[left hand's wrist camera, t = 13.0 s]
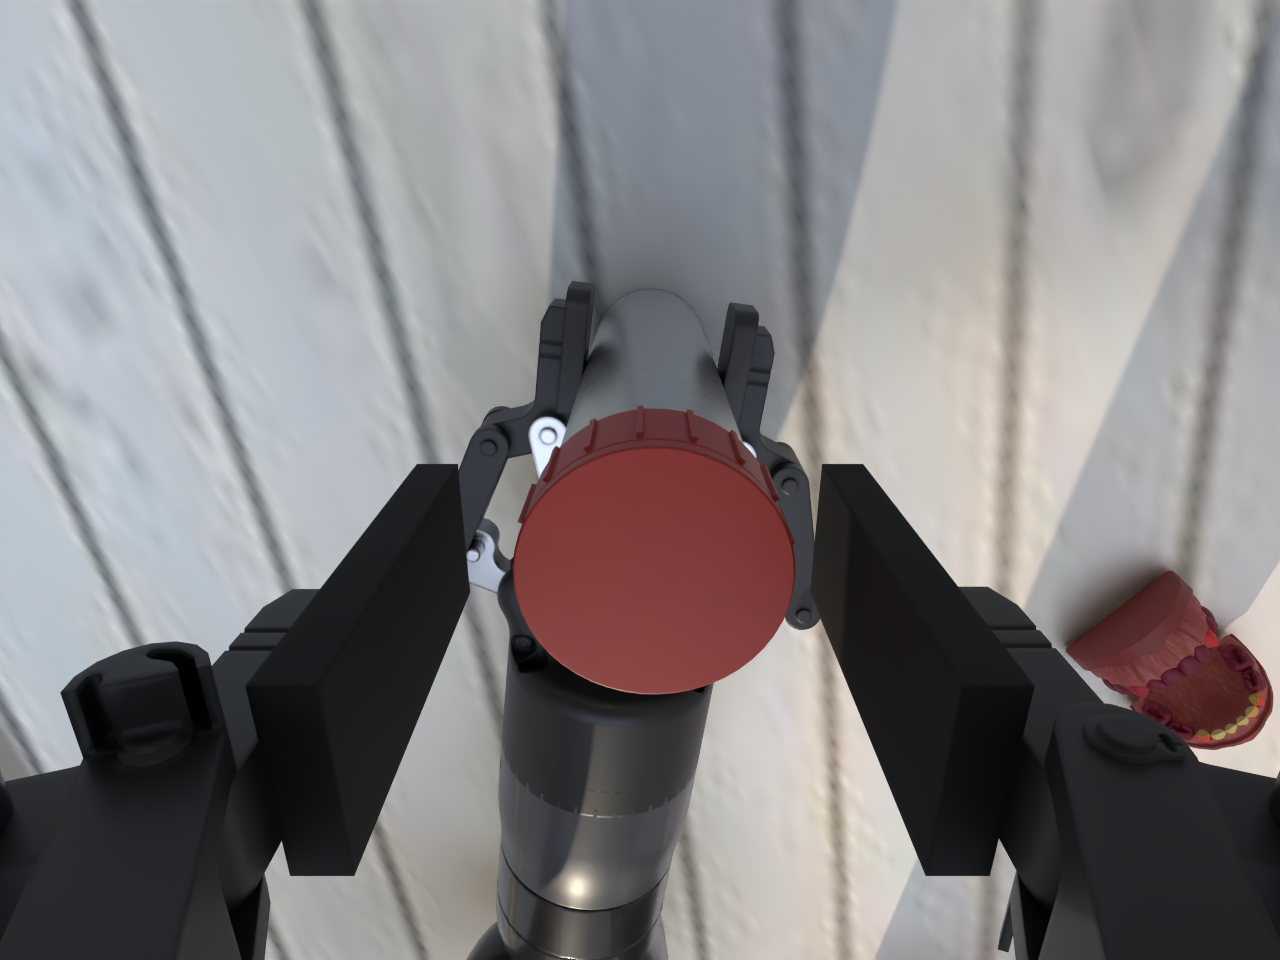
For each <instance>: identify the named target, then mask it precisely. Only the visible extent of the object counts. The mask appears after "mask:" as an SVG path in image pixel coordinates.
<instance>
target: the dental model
mask: <svg viewBox="0 0 1280 960" xmlns="http://www.w3.org/2000/svg"><path fill="white" fill-rule="evenodd" d="M1217 627H1218V625H1217V623H1216V621H1215V618H1214V616H1213V614H1212V613H1211V612H1210V611H1209V610H1208V609H1207V608H1205V607H1203V606H1201V605H1200V602H1199V600H1198V599H1197V598H1196V597H1195V596H1194V595H1193V590H1192V589H1191V588H1190V587H1189V586H1188V585H1187V584H1186V583H1185V582H1184V581H1183V580H1182V579H1181V578H1180V577H1179V576H1178V575H1176V574H1175V573H1174V572H1173V571H1167V572H1166V573H1164V574H1163V575H1162V576H1160V577H1159V578H1158V579H1157V580H1155V581H1154V582H1152V583H1151V584H1150V585H1148V586H1147V587H1146V588H1145V589H1143V590H1142V591H1141V592H1139V593H1138V594H1137V595H1135V596H1134V597H1133V598H1131V599H1130V600H1129V601H1127V602H1126V603H1125V604H1123V605H1122V606H1121V607H1119V608H1118V609H1117V610H1115V611H1114V612H1113V613H1112V614H1110V615H1109V616H1108V617H1106V618H1105V619H1104V620H1102V621H1101V622H1100V623H1099V624H1097V625H1096V626H1095V627H1093V628H1092V629H1091V630H1090V631H1088V632H1087V633H1086V634H1084V635H1083V636H1082V637H1080V638H1079V639H1078V640H1077V641H1075V642H1074V643H1073V644H1071V645H1070V646H1069V647H1068V648H1067V649H1066V652H1067V653H1068V654H1069V655H1070V656H1071V657H1072V658H1073V659H1074V660H1075V661H1076V662H1077V663H1078V664H1079V665H1080V666H1081V667H1082V668H1083V669H1085V670H1089V671H1091V672H1092V673H1093V674H1094V675H1096V676H1097V677H1099V678H1102V680H1103V682H1104V684H1105V685H1106V686H1107V687H1109V688H1110V689H1112V690H1113V691H1117V692H1119V693H1121V694H1126V695H1130V694H1131V693H1134V694H1135V695H1137V696H1139V697H1141V698H1139V699H1138V700H1136V701H1135V702H1134V703H1132V705H1131V706H1130V708H1131V709H1132V710H1133V711H1136V712H1139V713H1141V714H1143V715H1145V716H1147V717H1149V718H1151V719H1153V720H1155V721H1157V722H1159V723H1161V724H1163V725H1165V726H1166V727H1167V728H1169V729H1170V730H1171V731H1173V732H1174V733H1175V734H1176V735H1178V736H1179V737H1180V738H1182V739H1183V740H1184V741H1185V742H1186V743H1187V745H1188V746H1190V747H1193V748H1199V749H1209V750H1217V749H1221V748H1225V747H1231V746H1236V745H1240V744H1243V743H1246V742H1248V741H1251V740H1253V739H1254V738H1255V737H1256V736H1257V734H1258V733H1259V732H1260V731H1261V730H1262V728H1263V727H1264V725H1265V722H1266V720H1267V718H1268V717H1269V716H1270V714H1271V712H1272V708H1273V691H1272V687H1271V684H1270V682H1269V679H1268V677H1267V674H1266V672H1265V670H1264V668H1263V667H1262V665H1261V664H1260V663H1259V662H1258V660H1257V659H1256V658H1255V657H1254V656H1253V654H1252V653H1251V652H1250V651H1249V650H1248V649H1247V648H1246V646H1245V645H1244V644H1243V643H1242V642H1240V641H1239V640H1238V639H1237V638H1236V637H1235V636H1234V635H1233V634H1230V635H1227V636H1225V637H1224V638H1223V639H1221V640H1220V641H1218V639H1217V637H1216V635H1215V634H1214V633H1215V632H1217V631H1218V629H1217ZM1208 648H1211V649H1210V650H1209V649H1208ZM1196 658H1197V659H1198V660H1199V661H1198V660H1197V659H1196ZM1176 667H1178V669H1179V670H1178V669H1177V668H1176ZM1149 690H1151V691H1153V692H1150V693H1148V692H1149Z"/></svg>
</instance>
